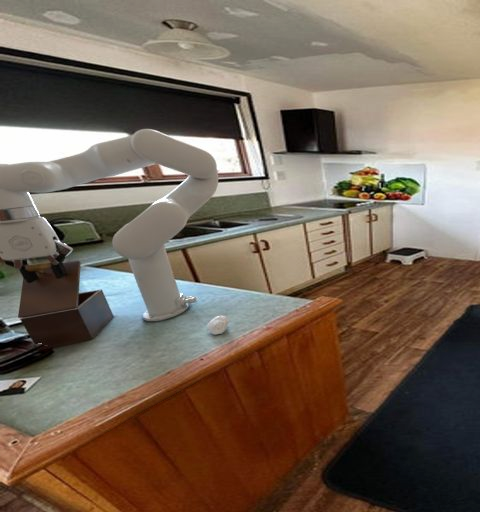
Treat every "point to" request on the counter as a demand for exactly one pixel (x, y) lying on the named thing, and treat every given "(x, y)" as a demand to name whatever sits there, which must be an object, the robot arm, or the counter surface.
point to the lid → (50, 290)
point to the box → (70, 322)
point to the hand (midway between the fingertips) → (47, 278)
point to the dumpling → (218, 325)
